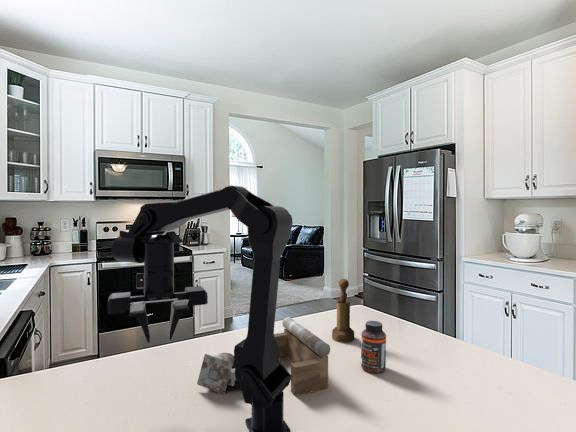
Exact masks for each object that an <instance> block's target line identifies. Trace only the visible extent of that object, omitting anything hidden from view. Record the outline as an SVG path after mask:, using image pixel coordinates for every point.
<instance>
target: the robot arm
mask: <svg viewBox="0 0 576 432" xmlns="http://www.w3.org/2000/svg"><path fill="white" fill-rule="evenodd" d="M229 210H230V212H231V213H232V214H233V215H234V217H235V218H236V219H237V220H238V221H239V222H240V223H241V224H243V225H244V226H246V228H247V240H248V244H249V246H250V249H251V252H252V254H253V265H252V276H251V277H252V278H251V287H250V289H251V290H250V302H249V309H248V310H249V311H248V313H249V314H248V323H247V324H248V325H247V334H246V338H244V339H242V340H241V341H240V342H238V343H237V344H235V345H234V348H233V355H234V363H233V366H232V369H234V368H235V378H236V380H237V381H238V382H239V385H240V386H239V388H240V390H241V391H240V392H241V394H242V398H243V402H244V403H245V404H249V405H251V417H248V418H245V422H244V423H245V425H246V426H247V428H248V431H249V432H291V431H292V430H291V428H290V427H289V425H288V424H287V422H286V421H285V420H284V406H285V405H284V396H285V395H284V390H286V388H287V387H288V386H289V385H290V384H291V377H292V376H291V372H290V371H288V369H287V368H286V366H285V365H284V364H283V363H282V362H281V361H280V359H279V348H278V344H277V342H276V339H275V337H274V334H275V325H276V324H275V322H276V321H275V320H276V311H277V300H278V289H279V279H280V277H279V276H280V269H281V265H280V264H281V258H282V255H283V253H284V251H285V249H286V247H287V244H288V243H289V239H290V236H291V232H292V228H293V216H292V215H291V213H290V212H289V211H288V210H287V209H286V208H285V207H282V206H280V205H279V206H277V205H276V206H275V205H273V204H272V203H270V202H269V201H267V200H265V199H263V198H262V197H260V196H257V195H255V194H254V193H252V192H251V191H250V190H249V189H247V188H246V187H244V186H240V185H226V186H225V187H224V188H219V189H217V190H213V191H211V192H207V193H204V194H203V193H202V194H200V195H196V196H192V197H189V198H185V199H182V200H178V201H173V202H172V201H171V202H170V201H169V202H168V201H167V202H151V203H149V202H148V203H145V204H143V205H142V206H141V207H140V209H139V212H138V214H137V216H136V218H135V219H134V221H133V223H132V225H131V227H130V228H129V229H123V230H119V235H118V236H117V237H116V238H115V240H114V241H113V242H112V246H110V247H111V248H110V252H111V256H112V257H113V258H114V260H115V261H117V262H120V263H121V262H123V263H133V264H143V272H139V273H137V272H136V275H135V276H136V277H135V279H136V280H135V282H136V285H135V288H136V289H137V290H142V289H143V294H144V295H133V296H131V291H125V292H124V291H123V292H113V293H111V294H110V295H109V296H108V298H107V299H108V300H107V314H108V315H116V314H118V315H119V314H124V313H127V312H128V311H129V316H130V317H135V318H136V320H137V322H138V323H139V325H140V327H141V329H142V332H143V334H144V337H145V340H146V342H147V344H149V343H150V342H151V334H150V329H149V328H150V327H149V321H148V316H147V315H148V314H147V310H146V309H147V308H146V306H147V305H158V304H166V303H167V304H168V303H171V304H170V305H171V306H170V318H169V324H168V325H169V326H168V340H172V339H173V336H174V334H175V331H176V328H177V326H178V323H179V321H180V320H181V317H182V315H183V313H184V312H185V311H188V310H189V305H188V303H189V304H190V305H191V306H194V307H195V306H202V305H208V300H209V297H208V292H207V290H206V289H205V288H204V287H202V285H199V286H198V285H195V286H186V287H185V288H184V291H179V292H175V279H174V278H175V277H174V276H175V274H174V273H175V258H174V257H175V254H174V253H175V246H174V245H175V244H181V243H183V241H184V240H183V239H182V237H181V236H179V235H178V234H177V233H176V231H174V230H175V229H178V228H180V227H181V226H184V225H185V224H186V223H187V222H189V221H191V220H194V219H198V218H202V217H206V216H209V215H214V214H217V213H221V212H224V211H225V212H226V211H229Z"/></svg>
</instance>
